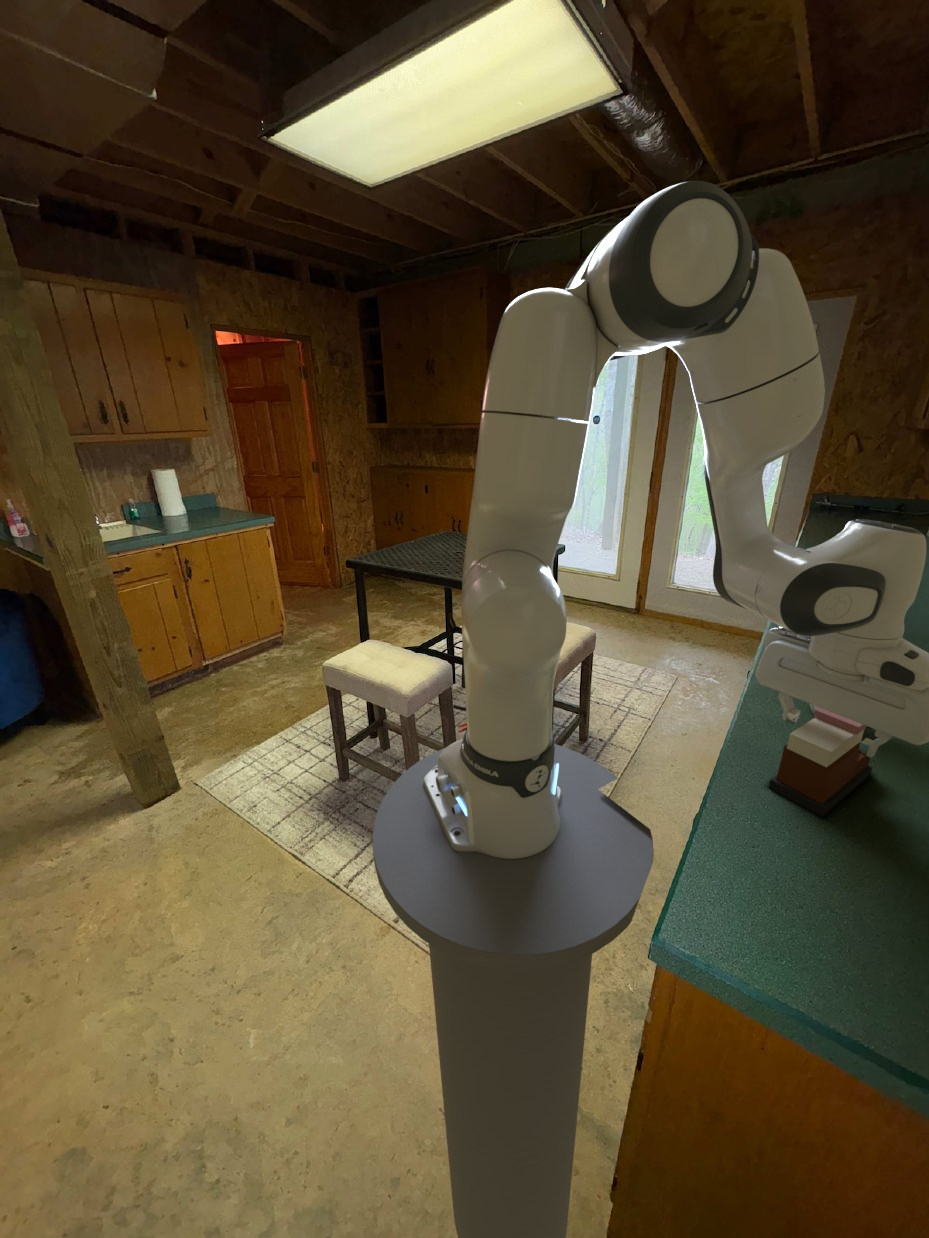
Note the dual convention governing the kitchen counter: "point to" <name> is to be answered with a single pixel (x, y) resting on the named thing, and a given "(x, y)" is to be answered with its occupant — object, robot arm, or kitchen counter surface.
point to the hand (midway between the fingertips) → (826, 736)
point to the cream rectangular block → (826, 737)
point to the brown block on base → (819, 779)
